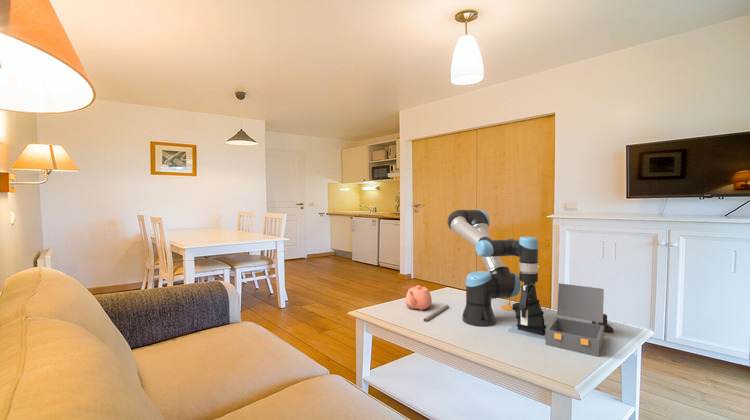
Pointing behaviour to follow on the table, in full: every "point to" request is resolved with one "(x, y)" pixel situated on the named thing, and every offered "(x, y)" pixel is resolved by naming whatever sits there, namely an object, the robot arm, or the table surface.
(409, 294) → the pink rounded piece
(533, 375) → the table surface
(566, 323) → the case
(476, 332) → the table surface
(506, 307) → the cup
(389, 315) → the table surface
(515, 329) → the mat
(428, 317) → the metal rod
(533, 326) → the magazine
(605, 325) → the bracket
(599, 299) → the lid
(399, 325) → the table surface
